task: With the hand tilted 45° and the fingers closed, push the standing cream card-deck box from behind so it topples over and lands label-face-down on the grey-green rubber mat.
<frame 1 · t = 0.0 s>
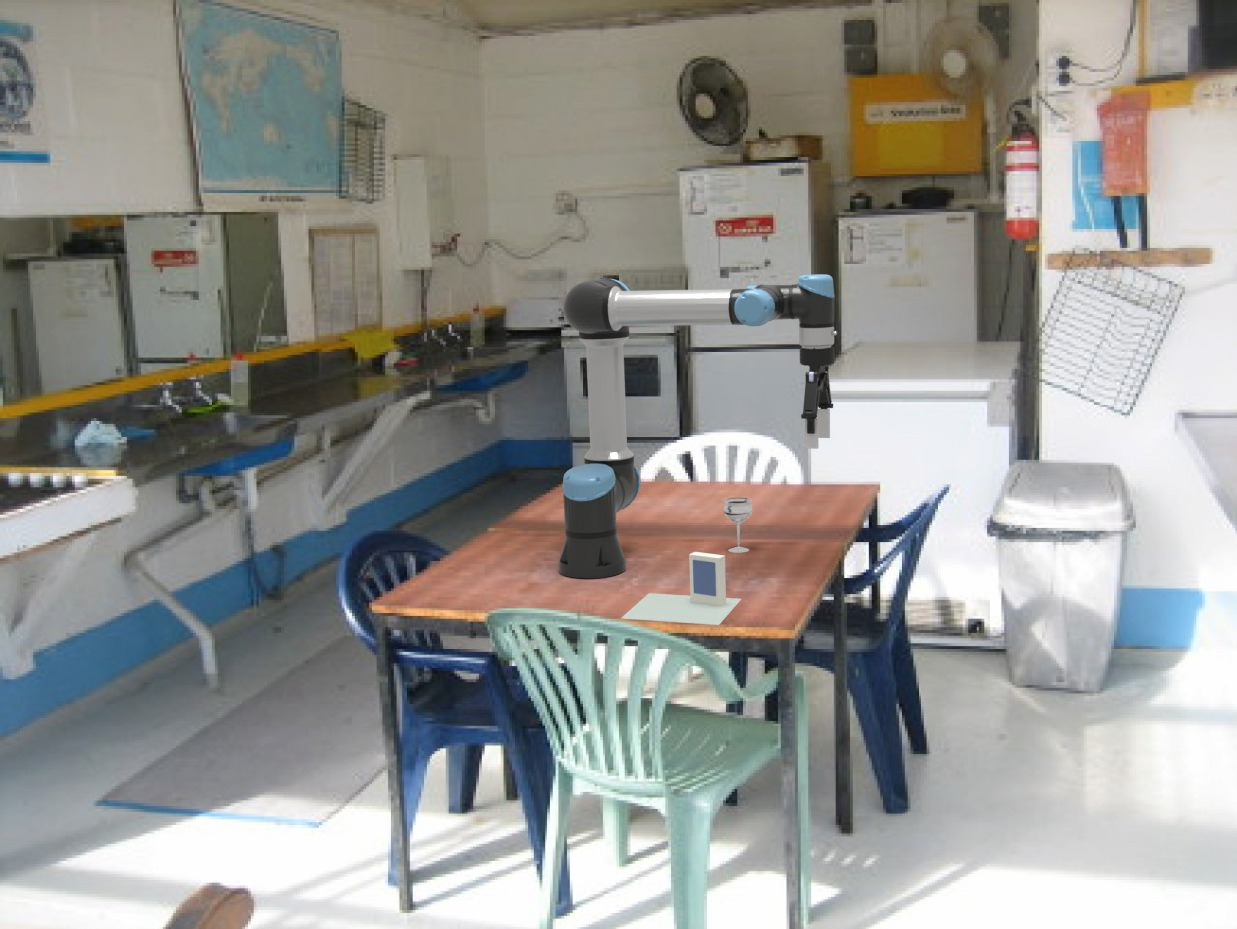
hand: (817, 443, 292), 28 cm above the table, tool pointing down, fingers open, 13 cm apart
wineglass: (738, 550, 314), on the table
mat: (682, 611, 267), on the table
deck box: (708, 602, 271), point 1 cm above the table, touching mat
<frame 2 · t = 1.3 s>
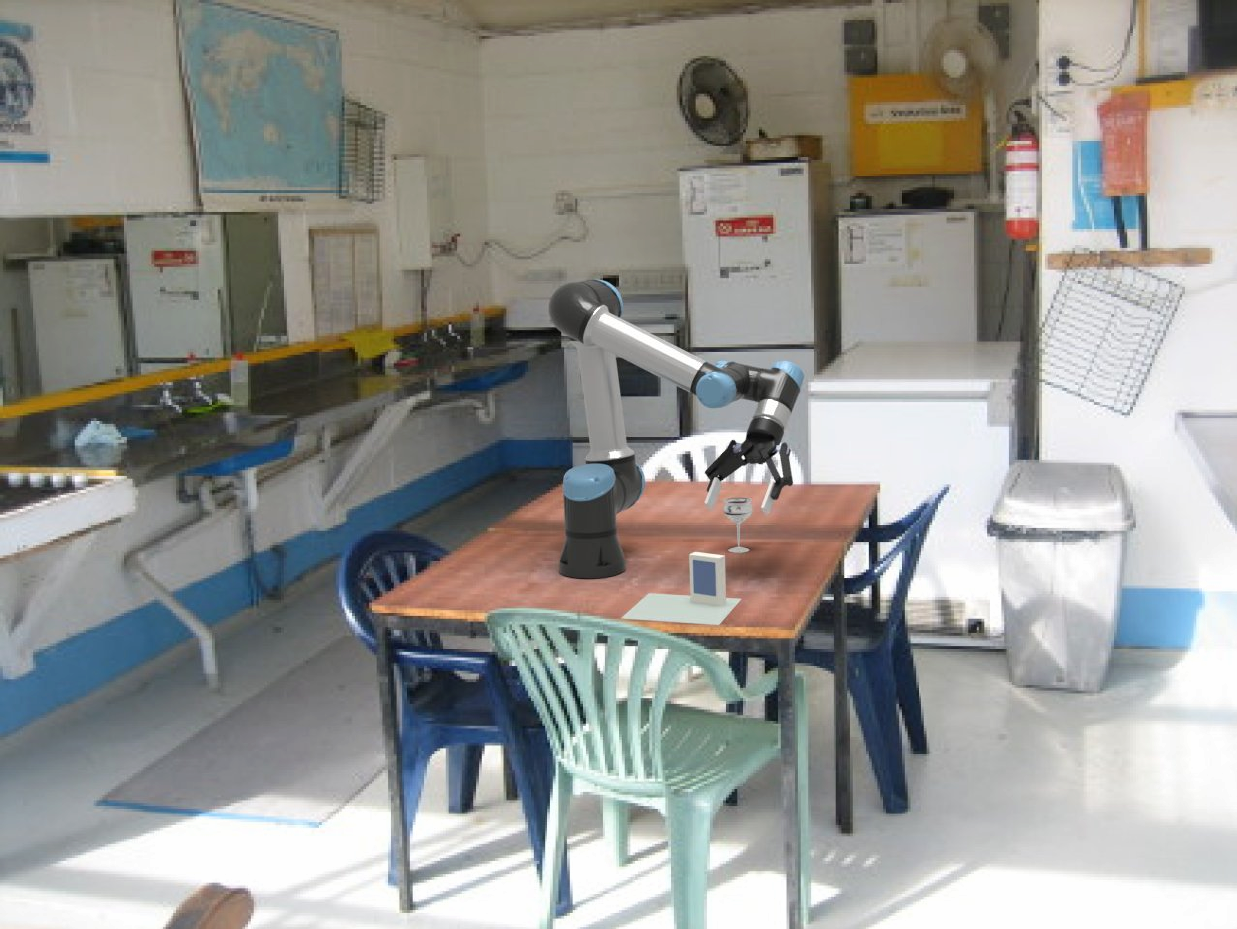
hand: (736, 509, 276), 18 cm above the table, tool tilted 45°, fingers open, 13 cm apart
nothing on the table moved.
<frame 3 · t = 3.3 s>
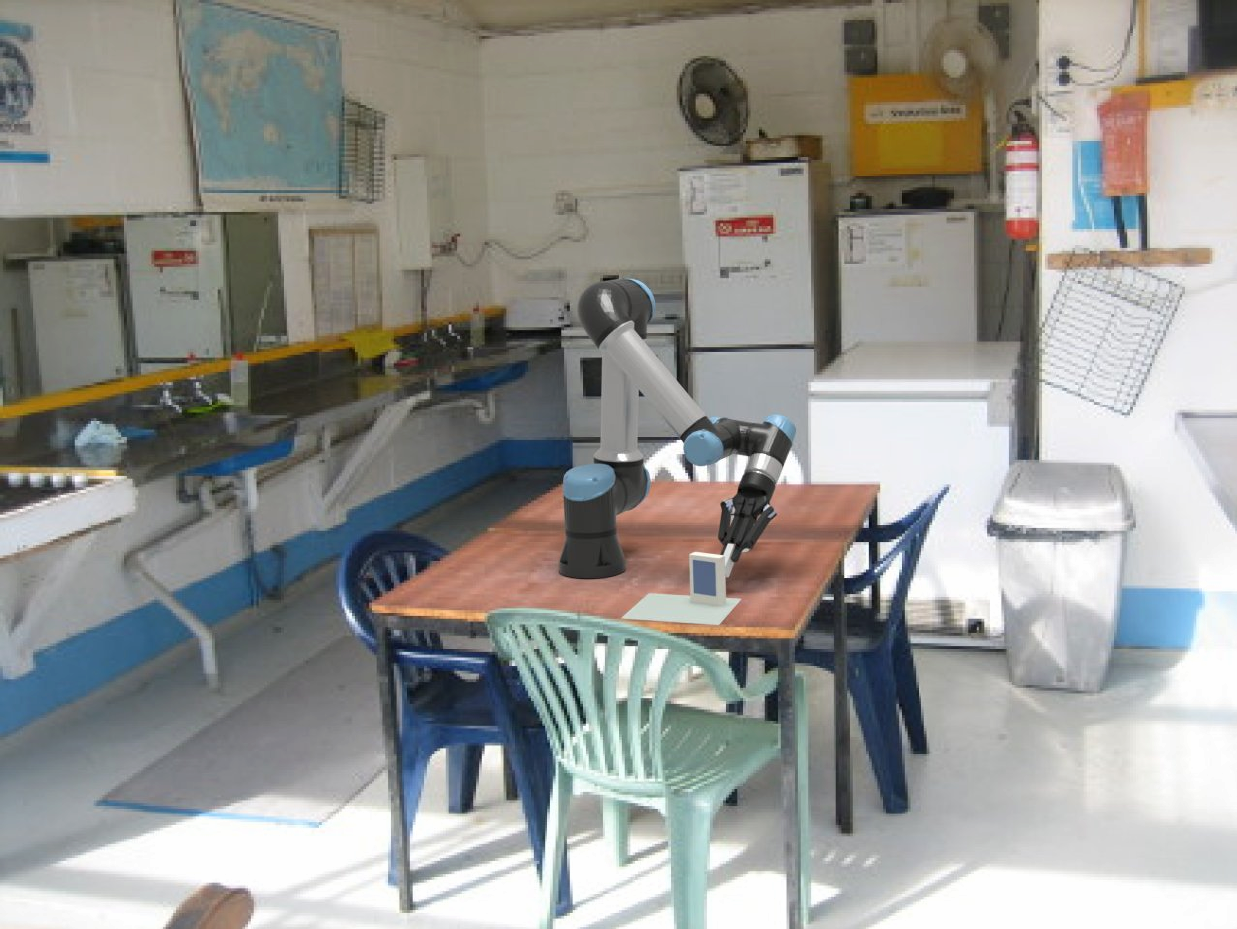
hand: (723, 573, 275), 5 cm above the table, tool tilted 45°, fingers closed
nothing on the table moved.
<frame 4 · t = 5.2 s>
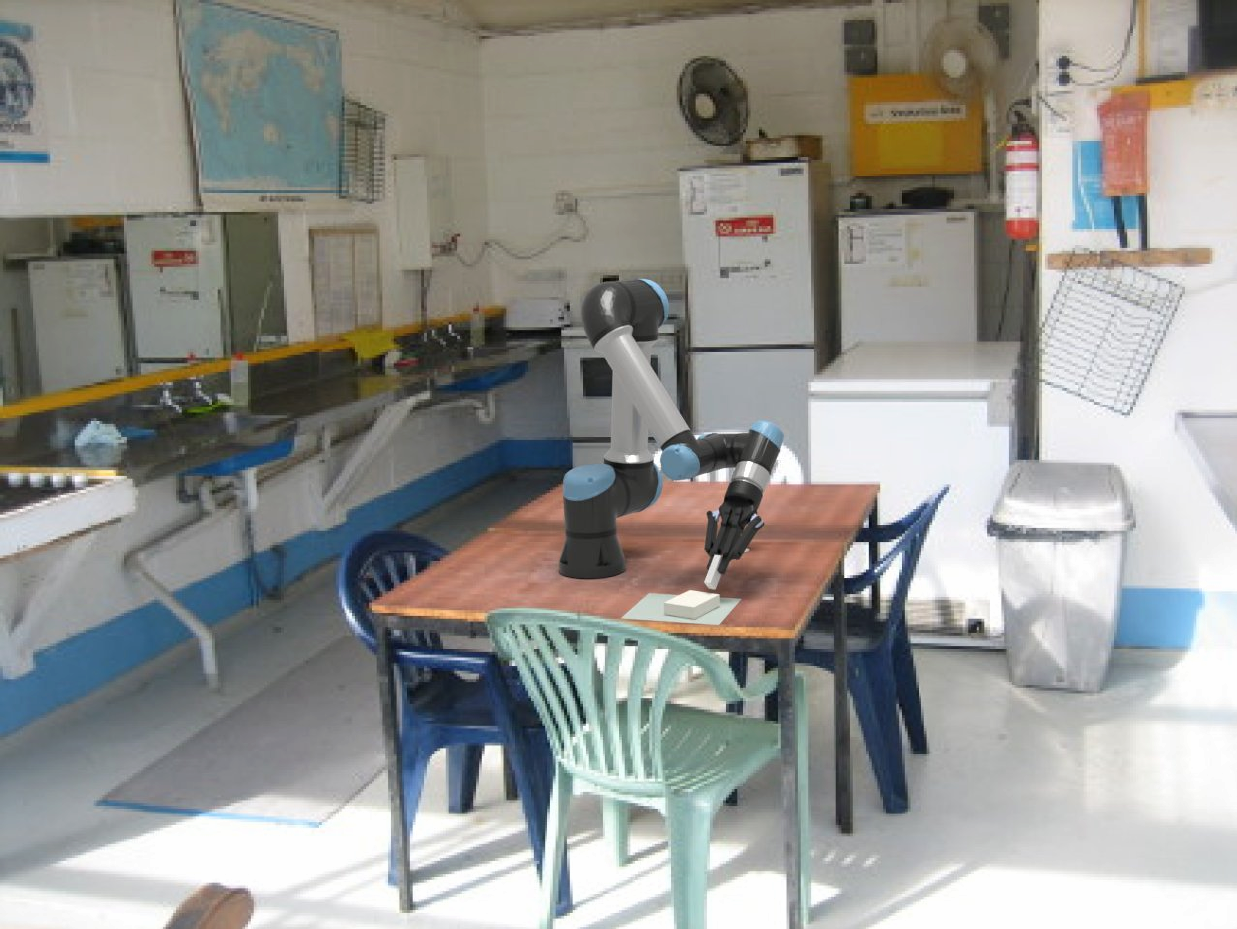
hand: (709, 585, 268), 5 cm above the table, tool tilted 45°, fingers closed
deck box: (704, 598, 269), point 2 cm above the table, tilted 90°, touching mat
everything else where it was.
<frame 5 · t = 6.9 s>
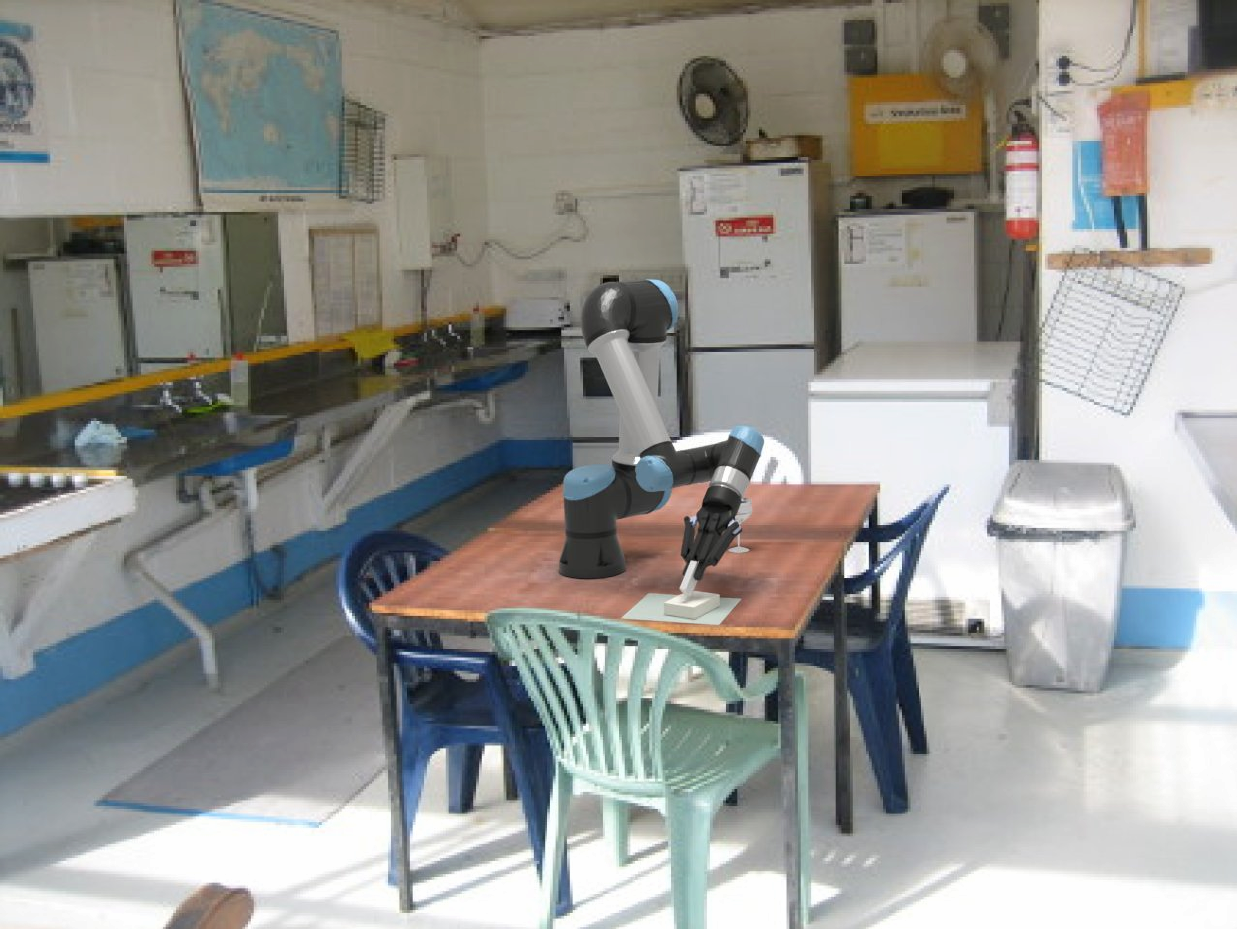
hand: (685, 592, 263), 5 cm above the table, tool tilted 45°, fingers closed
nothing on the table moved.
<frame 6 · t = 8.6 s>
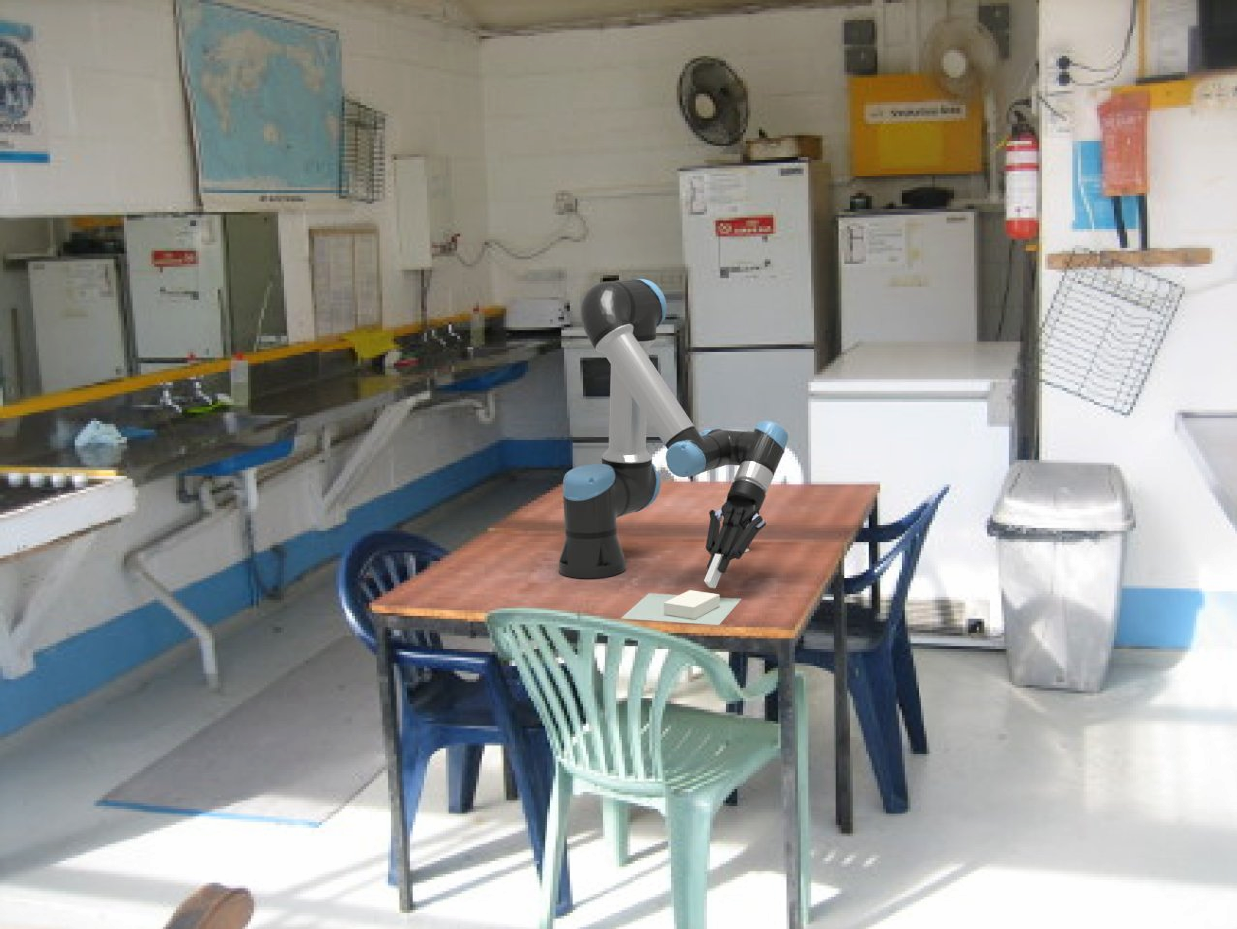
hand: (709, 584, 270), 4 cm above the table, tool tilted 45°, fingers closed
nothing on the table moved.
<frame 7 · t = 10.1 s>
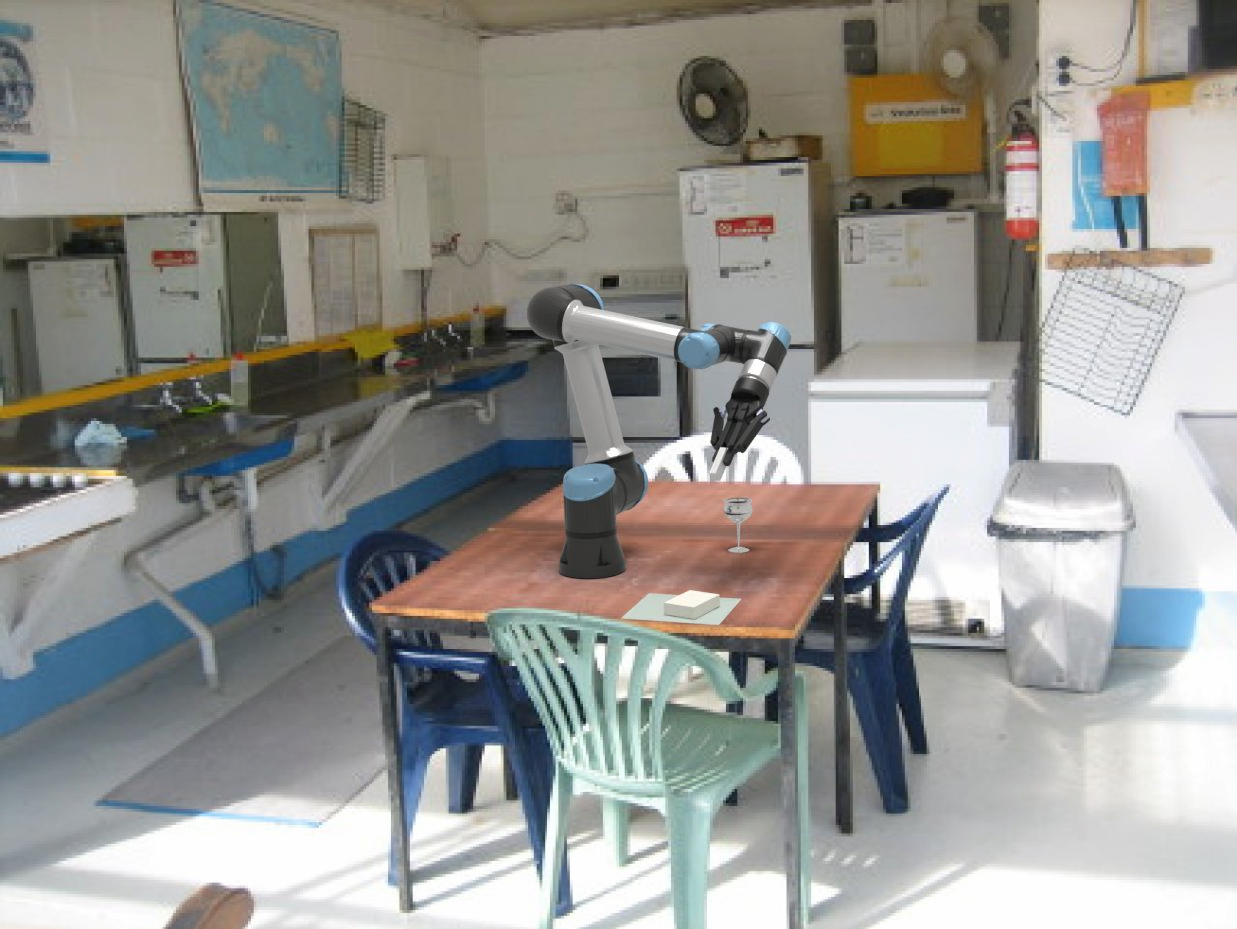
hand: (714, 476, 273), 25 cm above the table, tool tilted 45°, fingers closed
nothing on the table moved.
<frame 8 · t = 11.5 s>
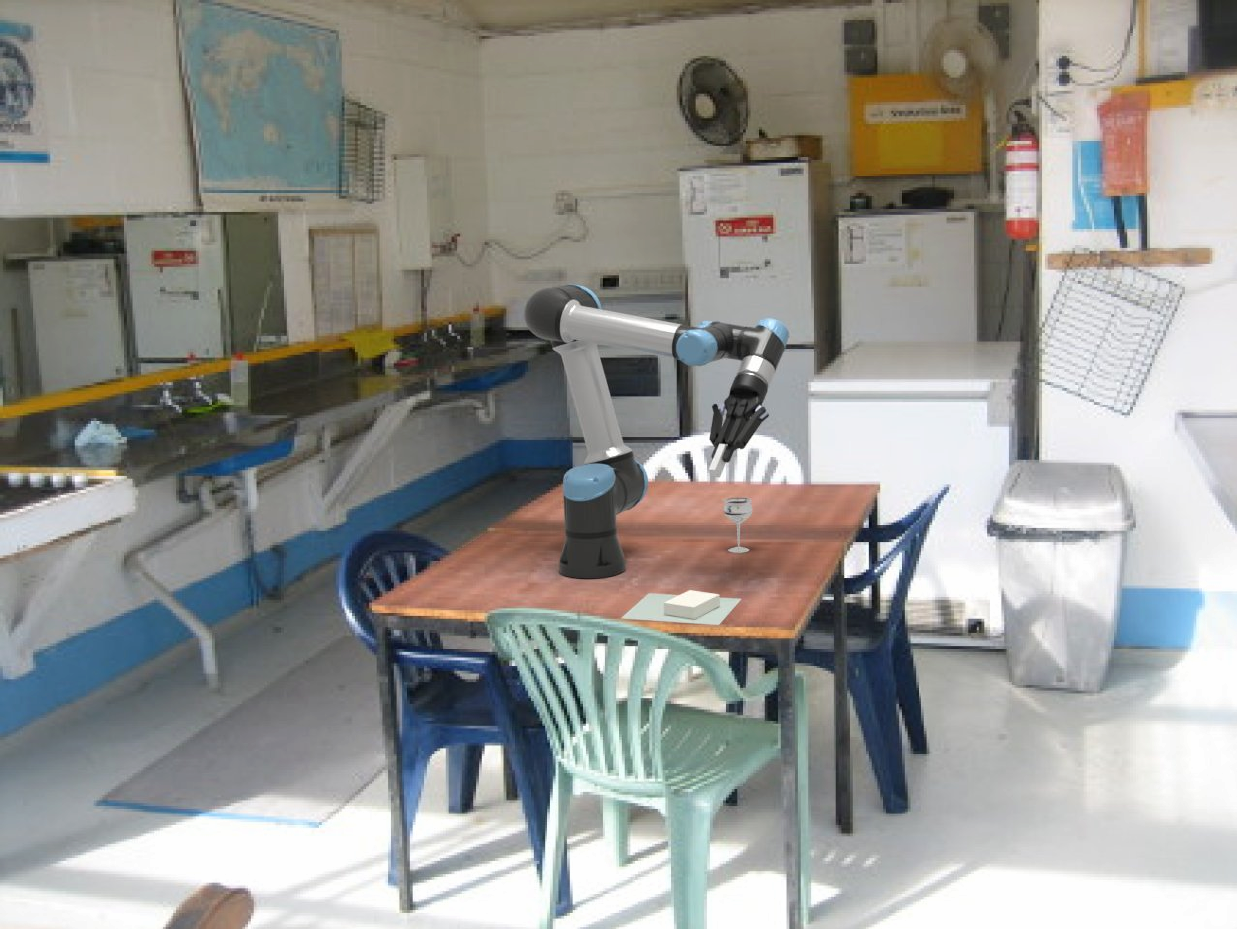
hand: (714, 473, 273), 26 cm above the table, tool tilted 45°, fingers closed
nothing on the table moved.
at the end: deck box tilted 90°; deck box inside the target area (5.2 cm from its centre), point 1.9 cm above the table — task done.
